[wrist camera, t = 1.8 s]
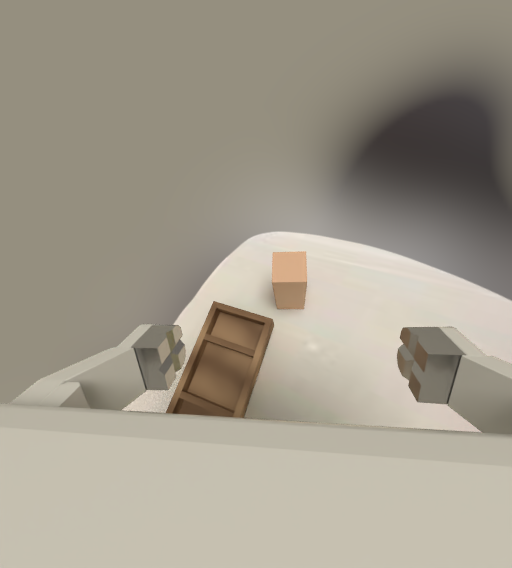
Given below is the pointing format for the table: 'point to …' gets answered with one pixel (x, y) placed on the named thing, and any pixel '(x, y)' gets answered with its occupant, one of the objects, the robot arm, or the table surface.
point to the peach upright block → (289, 279)
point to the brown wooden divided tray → (223, 364)
